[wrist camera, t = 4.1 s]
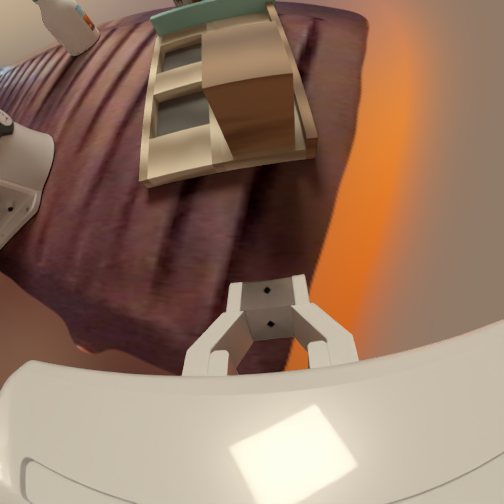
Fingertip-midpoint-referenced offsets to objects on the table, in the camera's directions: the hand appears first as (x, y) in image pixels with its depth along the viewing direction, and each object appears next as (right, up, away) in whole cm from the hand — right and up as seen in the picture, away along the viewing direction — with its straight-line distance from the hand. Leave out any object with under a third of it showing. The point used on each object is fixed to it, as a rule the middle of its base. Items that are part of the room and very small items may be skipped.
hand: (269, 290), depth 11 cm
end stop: (-6, +36, +21) cm, 42 cm away
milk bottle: (-36, +45, +27) cm, 64 cm away
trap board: (-5, +22, +19) cm, 29 cm away
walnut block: (0, +14, +15) cm, 21 cm away
